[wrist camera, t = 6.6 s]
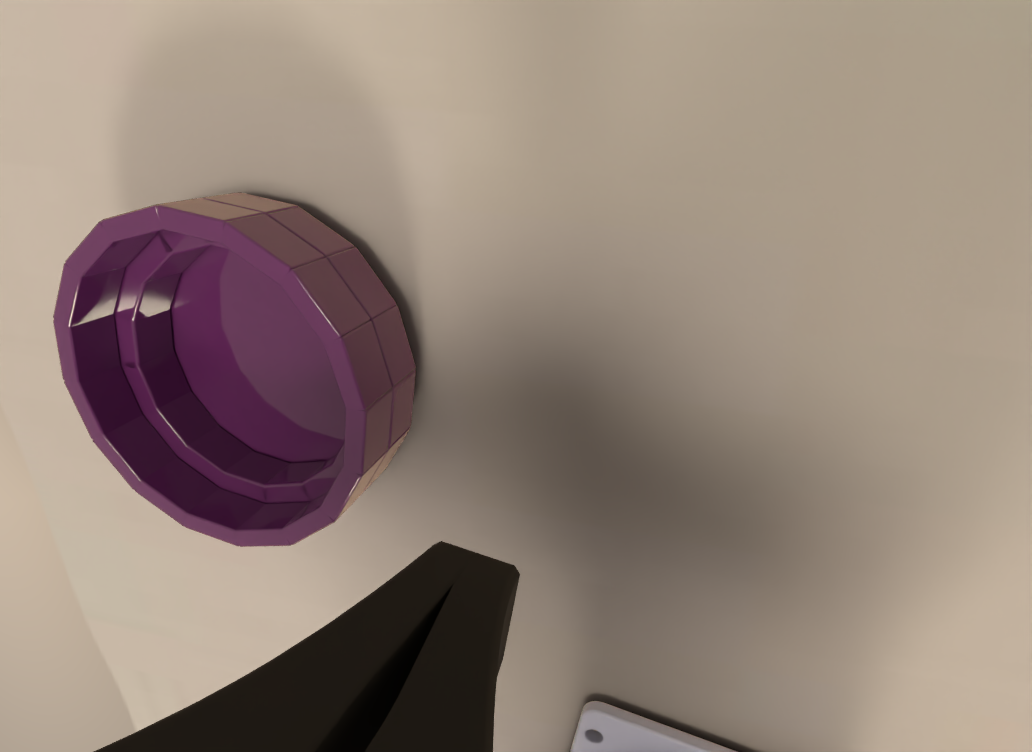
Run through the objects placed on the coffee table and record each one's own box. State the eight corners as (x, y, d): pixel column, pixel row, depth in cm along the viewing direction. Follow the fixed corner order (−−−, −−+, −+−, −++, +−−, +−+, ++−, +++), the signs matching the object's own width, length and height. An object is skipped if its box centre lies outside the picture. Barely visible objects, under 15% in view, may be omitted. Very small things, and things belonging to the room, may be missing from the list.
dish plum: (410, 518, 18) (355, 589, 15) (168, 440, 19) (80, 491, 17) (438, 230, 14) (374, 256, 12) (142, 164, 16) (26, 173, 13)
